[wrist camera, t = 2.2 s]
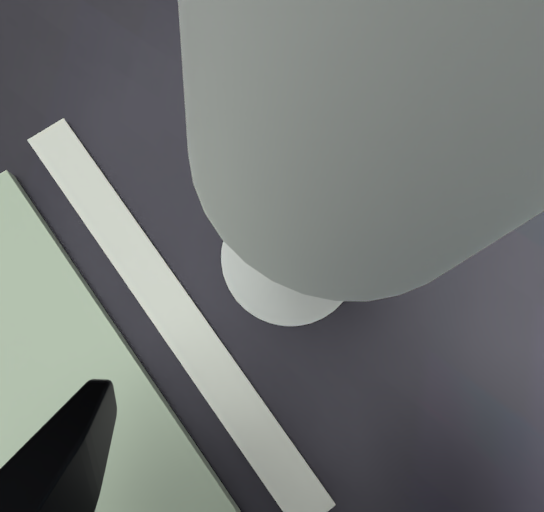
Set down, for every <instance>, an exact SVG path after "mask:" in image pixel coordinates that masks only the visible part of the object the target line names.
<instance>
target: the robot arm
mask: <svg viewBox="0 0 544 512" xmlns="http://www.w3.org/2000/svg"><path fill="white" fill-rule="evenodd" d="M116 416H117V404H116V398H115V393H114V387H113V383H112V381H111V380H107V379H91V380H89V381H87V382H86V383H85V384H84V385H83V386H82V387H81V388H80V389H79V390H78V391H77V392H76V393H75V394H74V395H73V396H72V397H71V398H70V399H69V400H68V401H67V402H66V403H65V404H64V405H63V406H62V407H61V408H60V409H59V410H58V411H57V412H56V413H55V414H54V415H53V416H52V417H51V418H50V419H49V420H48V421H47V422H46V423H45V424H44V425H43V426H42V427H41V428H40V429H39V430H38V431H37V432H36V433H35V434H34V435H33V436H32V437H31V438H30V439H29V440H28V441H27V442H26V443H25V444H24V445H23V446H22V447H21V448H20V449H19V450H18V451H17V452H16V453H15V454H14V455H13V456H12V457H11V458H10V459H9V460H8V461H7V462H6V463H5V464H4V465H3V466H2V467H1V468H0V512H95V509H96V506H97V502H98V499H99V496H100V491H101V487H102V483H103V478H104V473H105V469H106V464H107V459H108V454H109V450H110V445H111V440H112V436H113V431H114V426H115V421H116Z"/></svg>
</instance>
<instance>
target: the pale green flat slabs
mask: <svg viewBox="0 0 544 512" xmlns="http://www.w3.org/2000/svg"><path fill="white" fill-rule="evenodd" d="M28 142H29V143H30V145H31V146H32V148H33V149H34V151H35V152H36V153H37V155H38V156H39V158H40V159H41V161H42V162H43V164H44V165H45V167H46V168H47V169H48V171H49V172H50V174H51V175H52V177H53V178H54V180H55V181H56V183H57V184H58V185H59V187H60V188H61V190H62V191H63V193H64V194H65V196H66V197H67V199H68V200H69V201H70V203H71V204H72V206H73V207H74V209H75V210H76V212H77V213H78V215H79V216H80V217H81V219H82V220H83V222H84V223H85V225H86V226H87V228H88V229H89V230H90V232H91V233H92V235H93V236H94V238H95V239H96V241H97V242H98V244H99V245H100V246H101V248H102V249H103V251H104V252H105V254H106V255H107V257H108V258H109V260H110V261H111V262H112V264H113V265H114V267H115V268H116V270H117V271H118V273H119V274H120V276H121V277H122V278H123V280H124V281H125V283H126V284H127V286H128V287H129V289H130V290H131V292H132V293H133V294H134V296H135V297H136V299H137V300H138V302H139V303H140V305H141V306H142V308H143V309H144V310H145V312H146V313H147V315H148V316H149V318H150V319H151V321H152V322H153V324H154V325H155V326H156V328H157V329H158V331H159V332H160V334H161V335H162V337H163V338H164V340H165V341H166V342H167V344H168V345H169V347H170V348H171V350H172V351H173V353H174V354H175V356H176V357H177V358H178V360H179V361H180V363H181V364H182V366H183V367H184V369H185V370H186V372H187V373H188V374H189V376H190V377H191V379H192V380H193V382H194V383H195V385H196V386H197V388H198V389H199V390H200V392H201V393H202V395H203V396H204V398H205V399H206V401H207V402H208V404H209V405H210V406H211V408H212V409H213V411H214V412H215V414H216V415H217V417H218V418H219V420H220V421H221V422H222V424H223V425H224V427H225V428H226V430H227V431H228V433H229V434H230V436H231V437H232V438H233V440H234V441H235V443H236V444H237V446H238V447H239V449H240V450H241V452H242V453H243V454H244V456H245V457H246V459H247V460H248V462H249V463H250V465H251V466H252V468H253V469H254V470H255V472H256V473H257V475H258V476H259V478H260V479H261V481H262V482H263V484H264V485H265V486H266V488H267V489H268V491H269V492H270V494H271V495H272V497H273V498H274V500H275V501H276V502H277V504H278V505H279V507H280V508H281V510H282V511H283V512H328V511H329V510H330V509H331V508H333V507H334V506H335V505H336V504H335V503H334V501H333V500H332V498H331V497H330V495H329V494H328V492H327V491H326V490H325V488H324V487H323V485H322V484H321V483H320V481H319V480H318V478H317V477H316V475H315V474H314V473H313V471H312V470H311V468H310V467H309V465H308V464H307V463H306V461H305V460H304V458H303V457H302V456H301V454H300V453H299V451H298V450H297V448H296V447H295V446H294V444H293V443H292V441H291V440H290V439H289V437H288V436H287V434H286V433H285V431H284V430H283V429H282V427H281V426H280V424H279V423H278V421H277V420H276V419H275V417H274V416H273V414H272V413H271V412H270V410H269V409H268V407H267V406H266V404H265V403H264V402H263V400H262V399H261V397H260V396H259V395H258V393H257V392H256V390H255V389H254V387H253V386H252V385H251V383H250V382H249V380H248V379H247V377H246V376H245V375H244V373H243V372H242V370H241V369H240V368H239V366H238V365H237V363H236V362H235V360H234V359H233V358H232V356H231V355H230V353H229V352H228V351H227V349H226V348H225V346H224V345H223V343H222V342H221V341H220V339H219V338H218V336H217V335H216V333H215V332H214V331H213V329H212V328H211V326H210V325H209V324H208V322H207V321H206V319H205V318H204V316H203V315H202V314H201V312H200V311H199V309H198V308H197V307H196V305H195V304H194V302H193V301H192V299H191V298H190V297H189V295H188V294H187V292H186V291H185V290H184V288H183V287H182V285H181V284H180V282H179V281H178V280H177V278H176V277H175V275H174V274H173V272H172V271H171V270H170V268H169V267H168V265H167V264H166V263H165V261H164V260H163V258H162V257H161V255H160V254H159V253H158V251H157V250H156V248H155V247H154V246H153V244H152V243H151V241H150V240H149V238H148V237H147V236H146V234H145V233H144V231H143V230H142V228H141V227H140V226H139V224H138V223H137V221H136V220H135V219H134V217H133V216H132V214H131V213H130V211H129V210H128V209H127V207H126V206H125V204H124V203H123V202H122V200H121V199H120V197H119V196H118V194H117V193H116V192H115V190H114V189H113V187H112V186H111V184H110V183H109V182H108V180H107V179H106V177H105V176H104V175H103V173H102V172H101V170H100V169H99V167H98V166H97V165H96V163H95V162H94V160H93V159H92V158H91V156H90V155H89V153H88V152H87V150H86V149H85V148H84V146H83V145H82V143H81V142H80V140H79V139H78V138H77V136H76V135H75V133H74V132H73V131H72V129H71V128H70V126H69V125H68V123H67V122H66V121H65V120H64V118H63V119H61V120H60V121H58V122H56V123H55V124H53V125H51V126H50V127H48V128H46V129H45V130H43V131H41V132H40V133H38V134H36V135H35V136H33V137H31V138H30V139H28ZM91 379H107V380H111V381H112V383H113V387H114V393H115V398H116V404H117V416H116V421H115V426H114V431H113V436H112V440H111V445H110V450H109V454H108V459H107V464H106V469H105V473H104V478H103V483H102V487H101V491H100V496H99V499H98V502H97V506H96V509H95V512H241V510H240V509H239V508H238V506H237V505H236V503H235V502H234V500H233V499H232V497H231V496H230V494H229V493H228V491H227V490H226V488H225V487H224V485H223V484H222V482H221V481H220V479H219V478H218V476H217V475H216V473H215V472H214V471H213V469H212V468H211V466H210V465H209V463H208V462H207V460H206V459H205V457H204V456H203V454H202V453H201V451H200V450H199V448H198V447H197V445H196V444H195V442H194V441H193V439H192V438H191V436H190V435H189V434H188V432H187V431H186V429H185V428H184V426H183V425H182V423H181V422H180V420H179V419H178V417H177V416H176V414H175V413H174V411H173V410H172V408H171V407H170V405H169V404H168V402H167V401H166V399H165V398H164V397H163V395H162V394H161V392H160V391H159V389H158V388H157V386H156V385H155V383H154V382H153V380H152V379H151V377H150V376H149V374H148V373H147V371H146V370H145V368H144V367H143V365H142V364H141V362H140V361H139V359H138V358H137V357H136V355H135V354H134V352H133V351H132V349H131V348H130V346H129V345H128V343H127V342H126V340H125V339H124V337H123V336H122V334H121V333H120V331H119V330H118V328H117V327H116V325H115V324H114V322H113V321H112V320H111V318H110V317H109V315H108V314H107V312H106V311H105V309H104V308H103V306H102V305H101V303H100V302H99V300H98V299H97V297H96V296H95V294H94V293H93V291H92V290H91V288H90V287H89V285H88V284H87V283H86V281H85V280H84V278H83V277H82V275H81V274H80V272H79V271H78V269H77V268H76V266H75V265H74V263H73V262H72V260H71V259H70V257H69V256H68V254H67V253H66V251H65V250H64V248H63V247H62V246H61V244H60V243H59V241H58V240H57V238H56V237H55V235H54V234H53V232H52V231H51V229H50V228H49V226H48V225H47V223H46V222H45V220H44V219H43V217H42V216H41V214H40V213H39V211H38V210H37V209H36V207H35V206H34V204H33V203H32V201H31V200H30V198H29V197H28V195H27V194H26V192H25V191H24V189H23V188H22V186H21V185H20V183H19V182H18V180H17V179H16V177H15V176H14V175H12V174H11V173H10V172H8V171H7V170H5V171H4V172H2V173H1V174H0V468H1V467H2V466H3V465H4V464H5V463H6V462H7V461H8V460H9V459H10V458H11V457H12V456H13V455H14V454H15V453H16V452H17V451H18V450H19V449H20V448H21V447H22V446H23V445H24V444H25V443H26V442H27V441H28V440H29V439H30V438H31V437H32V436H33V435H34V434H35V433H36V432H37V431H38V430H39V429H40V428H41V427H42V426H43V425H44V424H45V423H46V422H47V421H48V420H49V419H50V418H51V417H52V416H53V415H54V414H55V413H56V412H57V411H58V410H59V409H60V408H61V407H62V406H63V405H64V404H65V403H66V402H67V401H68V400H69V399H70V398H71V397H72V396H73V395H74V394H75V393H76V392H77V391H78V390H79V389H80V388H81V387H82V386H83V385H84V384H85V383H86V382H87V381H89V380H91Z"/></svg>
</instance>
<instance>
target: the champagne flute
mask: <svg viewBox="0 0 544 512" xmlns="http://www.w3.org/2000/svg"><path fill="white" fill-rule="evenodd" d="M178 8H179V23H180V38H181V54H182V69H183V84H184V99H185V114H186V129H187V145H188V156H189V162H190V168H191V174H192V180H193V184H194V187H195V190H196V192H197V195H198V197H199V200H200V202H201V205H202V207H203V210H204V212H205V214H206V216H207V217H208V219H209V220H210V222H211V223H212V225H213V226H214V228H215V229H216V231H217V232H218V234H219V235H220V237H221V238H222V240H223V245H222V249H221V265H222V270H223V276H224V279H225V281H226V284H227V286H228V289H229V290H230V292H231V293H232V295H233V296H234V298H235V299H236V301H237V302H238V303H239V304H240V305H241V306H242V307H243V308H244V309H245V310H246V311H248V312H249V313H251V314H252V315H254V316H255V317H257V318H259V319H261V320H263V321H266V322H268V323H271V324H276V325H281V326H300V325H306V324H311V323H313V322H315V321H318V320H320V319H323V318H324V317H326V316H327V315H329V314H330V313H332V312H333V311H335V310H336V309H337V307H338V306H339V305H340V304H341V303H342V302H343V301H373V300H378V299H383V298H388V297H393V296H399V295H402V294H404V293H406V292H409V291H411V290H414V289H416V288H418V287H421V286H423V285H426V284H428V283H430V282H431V281H433V280H435V279H436V278H438V277H439V276H441V275H443V274H444V273H446V272H447V271H449V270H451V269H452V268H454V267H455V266H457V265H458V264H460V263H462V262H463V261H465V260H466V259H468V258H470V257H471V256H473V255H474V254H476V253H478V252H479V251H481V250H482V249H484V248H486V247H487V246H489V245H490V244H492V243H494V242H495V241H497V240H498V239H500V238H502V237H503V236H505V235H506V234H508V233H510V232H511V231H513V230H514V229H516V228H517V227H519V226H521V225H522V224H524V223H525V222H527V221H529V220H530V219H532V218H533V217H535V216H537V215H538V214H540V213H541V212H543V211H544V0H178Z"/></svg>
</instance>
